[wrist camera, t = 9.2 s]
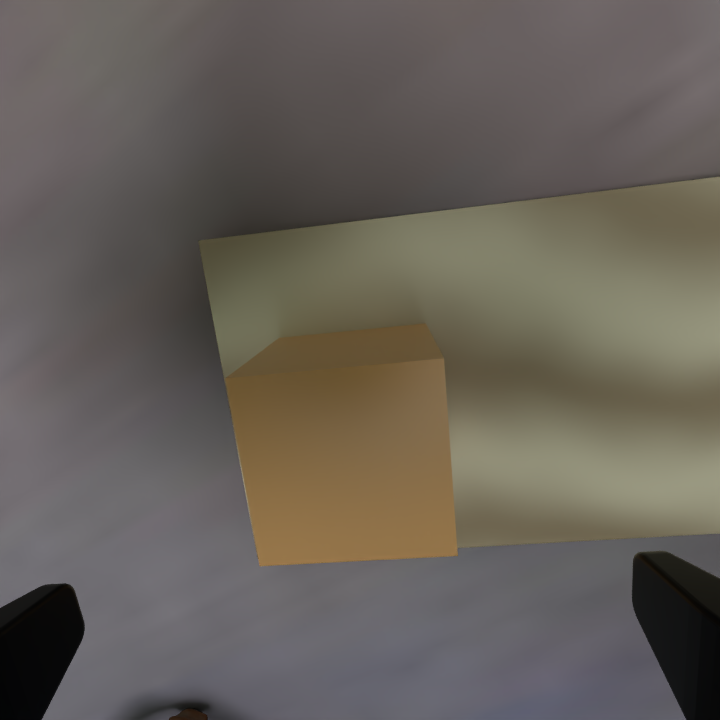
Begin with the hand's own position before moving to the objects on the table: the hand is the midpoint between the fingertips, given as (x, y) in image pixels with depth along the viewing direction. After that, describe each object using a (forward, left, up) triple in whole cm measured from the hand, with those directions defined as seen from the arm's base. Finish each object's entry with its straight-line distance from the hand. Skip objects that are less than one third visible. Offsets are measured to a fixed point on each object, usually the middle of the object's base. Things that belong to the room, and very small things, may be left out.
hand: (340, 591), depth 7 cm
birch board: (0, -5, -11) cm, 12 cm away
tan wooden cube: (0, 0, -10) cm, 10 cm away
